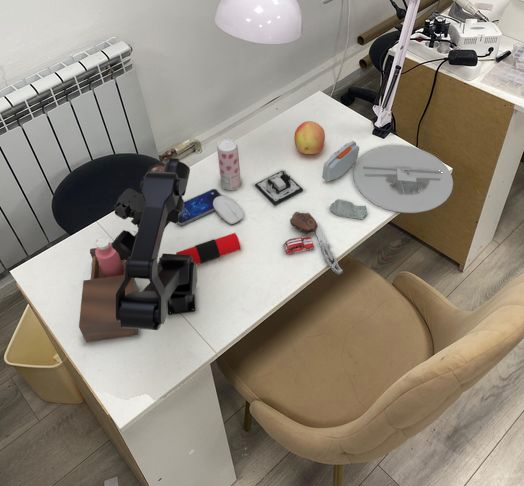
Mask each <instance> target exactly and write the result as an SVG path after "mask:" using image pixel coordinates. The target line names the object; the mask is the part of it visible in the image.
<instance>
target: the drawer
mask: <svg viewBox="0 0 524 486" xmlns="http://www.w3.org/2000/svg"><path fill="white" fill-rule="evenodd" d="M96 248H97V247H93V248H90V249H89V254H90V256H91V270H90V279H97V278H105V277H104V275H103V272H102V270H101V267H100V265H99V262H98V260H97V257H96V254H95V250H96ZM119 256H120V259H121V262H122V265H123V268H124V272H123V274H122V275H125V265H126V261H127V260H126V259H125V258H124V257H123V256H121V255H120V254H119Z"/></svg>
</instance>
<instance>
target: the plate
mask: <svg viewBox="0 0 524 486" xmlns="http://www.w3.org/2000/svg"><path fill="white" fill-rule="evenodd" d="M439 170H440V171H439ZM441 172H443V173H441ZM353 181H354V184H355V187H356V188H357V190H358V191H359V192H360V194H361V195H362V196H363V197H364V198H365V199H366V200H368V201H369V202H370V203H372V204H374V205H376V206H377V207H379V208H382V209H384V210H387V211H390V212H394V213H402V214H419V213H425V212H429V211H432V210H434V209H436V208H438V207H441V205H443V204H444V203H445V202H446V201H447V200H448V199H449V197H450V196H451V194H452V191H453V188H454V180H453V176H452V173H451V172H450V169H449V168H448V166H447V165H446V164H445V163H444V162H443V161H442V160H441V159H440V158H438V157H436V156H435V155H433V154H431V153H430V152H428V151H425V150H423V149H420V148H417V147H414V146H409V145H395V144H394V145H385V146H381V147H377V148H374V149H371V150H370V151H367V152H366V153H365V154H364V155H362V156H361V157H360V158H359V159H357V162H356V163H355V166H354V169H353Z"/></svg>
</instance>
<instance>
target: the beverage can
mask: <svg viewBox="0 0 524 486" xmlns="http://www.w3.org/2000/svg"><path fill="white" fill-rule="evenodd" d="M216 146H217V147H216V150H217V159H218V169H219V178H220V185H221V187H222V188H223V189H224V190H227V191H235V190H237V189H239V188H240V186H241V184H242V180H241V167H240V157H239V146H238V143H237V141H236V140H234V139H232V138H223V139H221V140H219V142H217V145H216Z"/></svg>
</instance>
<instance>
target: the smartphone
mask: <svg viewBox="0 0 524 486" xmlns="http://www.w3.org/2000/svg"><path fill="white" fill-rule="evenodd" d="M218 196H223V195H222V194H221V192H219V191H218V189H216V188H212V189H209V190H208V191H205V192H202V193H201V194H198V195H197V196H194V197H192V198H190V199H187V200H185V201H184V210H183V212H182V213H181V214H180V215H179V220H178V222H177V223H176V224H177V226H181V227H183V226H185V225H187V224H189V223H191V222H193V221H195V220H198V219H200V218H202V217H204V216H206V215H209V214H211V213H213V212H216V210H215V208H214V206H213V201H214V199H215V198H216V197H218Z"/></svg>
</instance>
